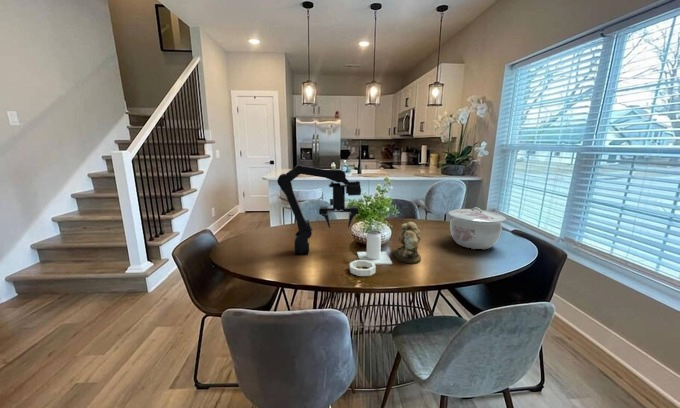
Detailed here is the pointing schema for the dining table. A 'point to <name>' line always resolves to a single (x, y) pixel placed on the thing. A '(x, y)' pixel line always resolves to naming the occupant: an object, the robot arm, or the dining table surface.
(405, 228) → the owl figurine
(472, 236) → the chamber pot
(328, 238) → the dining table surface
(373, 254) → the can
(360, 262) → the ring
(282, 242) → the dining table surface
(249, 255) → the dining table surface
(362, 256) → the mat
